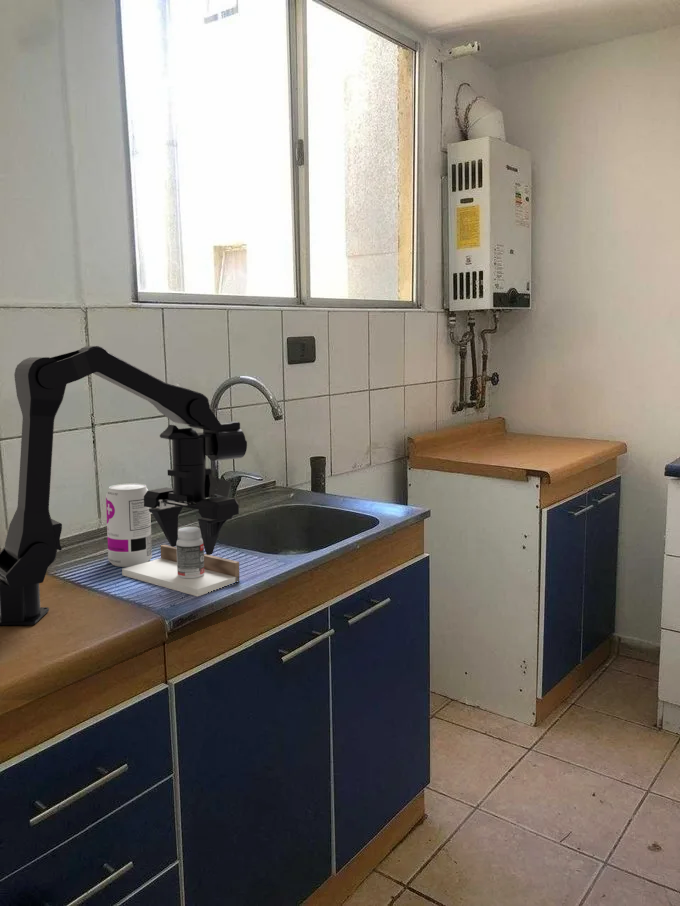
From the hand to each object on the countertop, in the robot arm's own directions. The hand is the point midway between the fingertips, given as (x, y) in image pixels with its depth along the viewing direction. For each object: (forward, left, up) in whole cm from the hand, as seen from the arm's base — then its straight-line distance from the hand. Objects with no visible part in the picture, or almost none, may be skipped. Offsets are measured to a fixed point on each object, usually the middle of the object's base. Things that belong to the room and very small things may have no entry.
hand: (191, 550), depth 129 cm
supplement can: (+13, +14, -6) cm, 20 cm away
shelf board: (+2, +2, -6) cm, 6 cm away
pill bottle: (0, 0, -5) cm, 5 cm away
